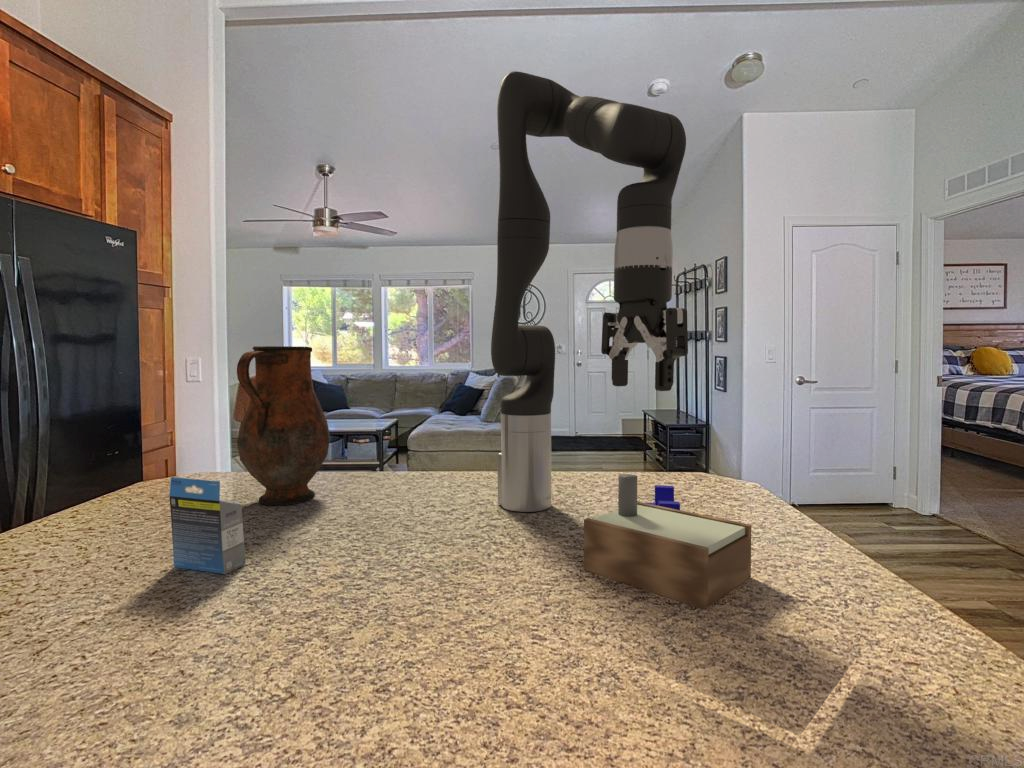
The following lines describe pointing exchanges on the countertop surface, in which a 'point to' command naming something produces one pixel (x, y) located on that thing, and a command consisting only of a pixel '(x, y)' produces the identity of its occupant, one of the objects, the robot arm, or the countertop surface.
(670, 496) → the blue curved stepped block
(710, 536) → the cover plate
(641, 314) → the robot arm
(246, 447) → the pitcher
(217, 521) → the label tape box
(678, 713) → the countertop surface
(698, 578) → the walnut box
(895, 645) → the countertop surface
